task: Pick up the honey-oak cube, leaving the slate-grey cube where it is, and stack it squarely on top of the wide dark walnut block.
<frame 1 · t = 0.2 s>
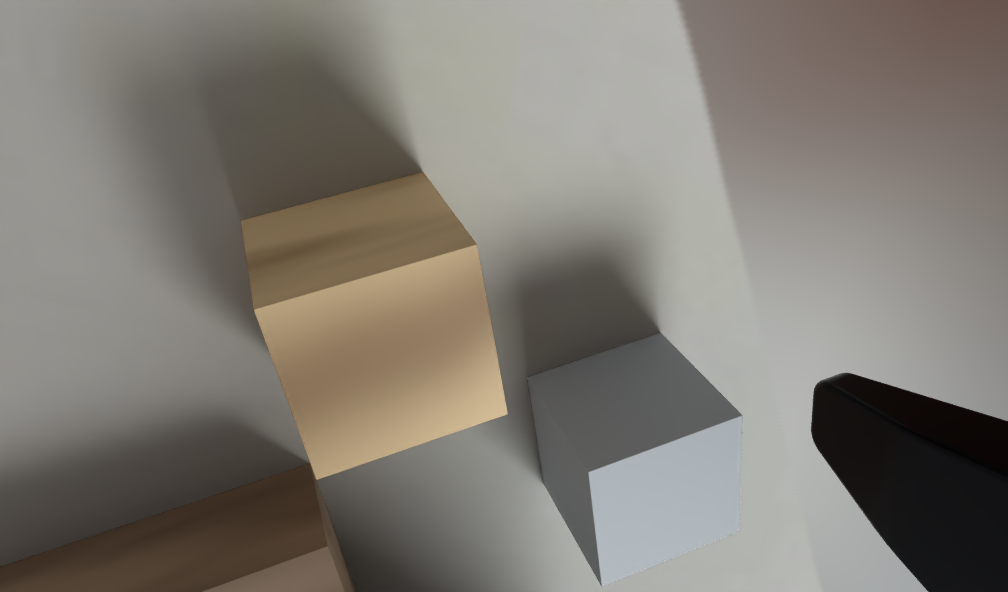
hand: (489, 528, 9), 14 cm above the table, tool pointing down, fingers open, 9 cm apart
oak cube: (355, 273, 23), on the table
grey cube: (599, 409, 28), on the table
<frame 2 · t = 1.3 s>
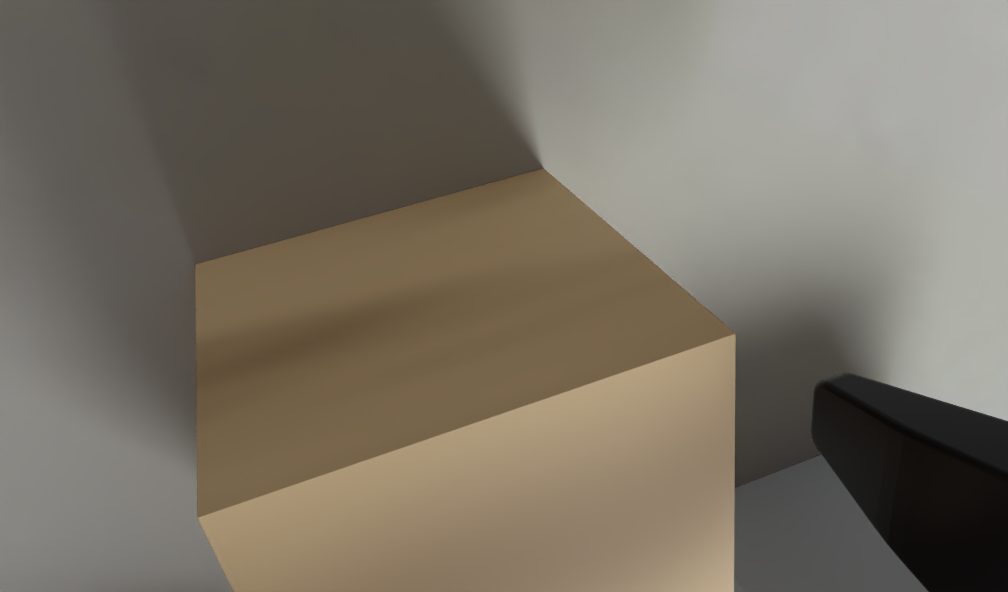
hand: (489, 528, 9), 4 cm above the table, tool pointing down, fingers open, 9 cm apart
oak cube: (413, 356, 12), on the table
grey cube: (780, 546, 18), on the table
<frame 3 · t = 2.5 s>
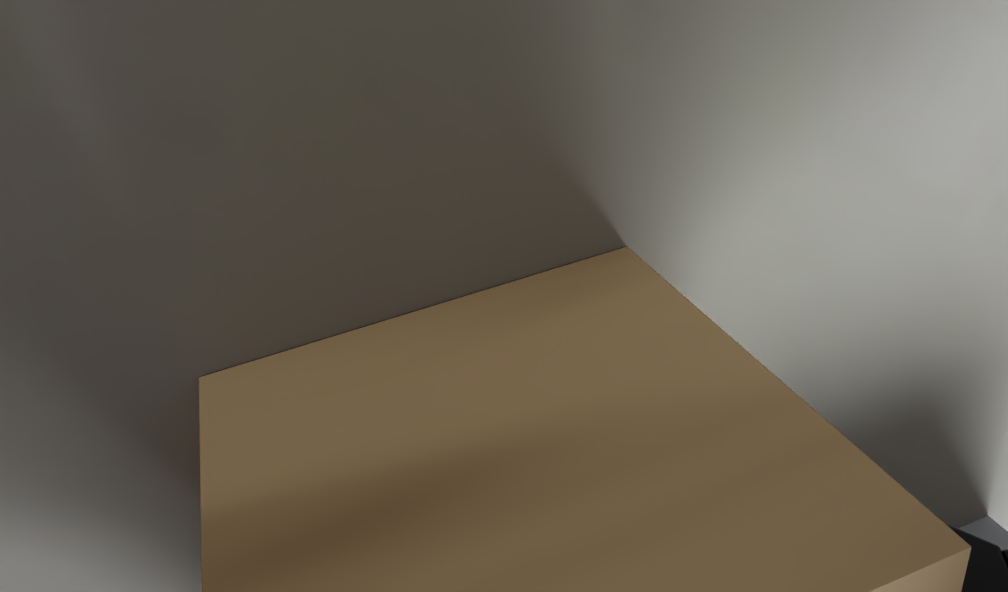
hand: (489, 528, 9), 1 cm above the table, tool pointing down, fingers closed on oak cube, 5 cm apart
oak cube: (463, 471, 10), on the table, touching gripper
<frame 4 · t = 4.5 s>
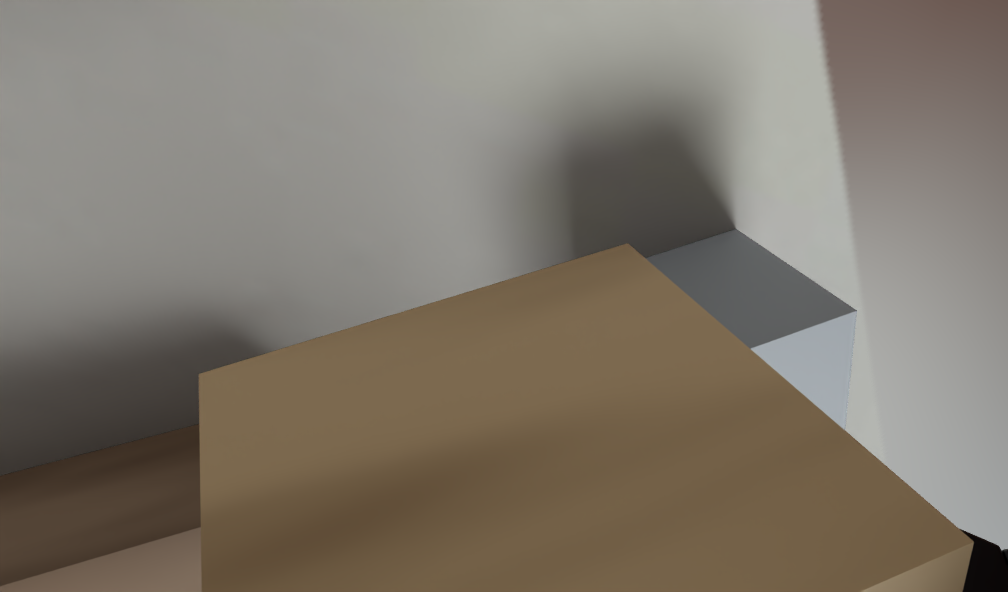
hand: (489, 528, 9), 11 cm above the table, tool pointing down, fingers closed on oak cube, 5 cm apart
oak cube: (464, 468, 10), point 10 cm above the table, touching gripper
grey cube: (660, 326, 23), on the table
walnut block: (179, 574, 22), on the table
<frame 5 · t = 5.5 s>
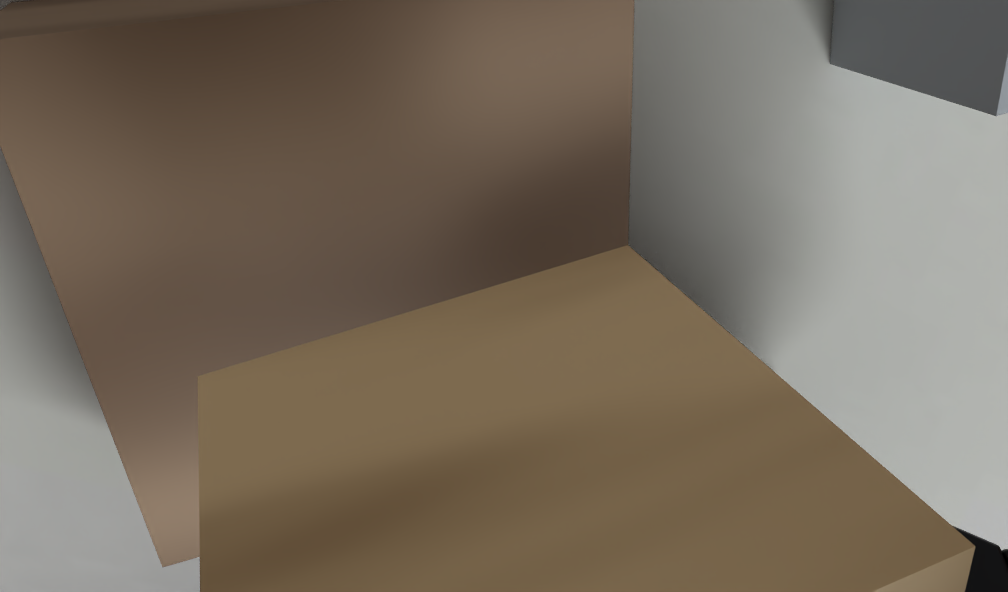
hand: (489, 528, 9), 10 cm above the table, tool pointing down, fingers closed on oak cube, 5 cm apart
oak cube: (463, 471, 10), point 9 cm above the table, touching gripper
walnut block: (342, 210, 18), on the table
when the fingers open (6 cm above the table, at t = 6.4 s): oak cube drops 2 cm, resting on walnut block.
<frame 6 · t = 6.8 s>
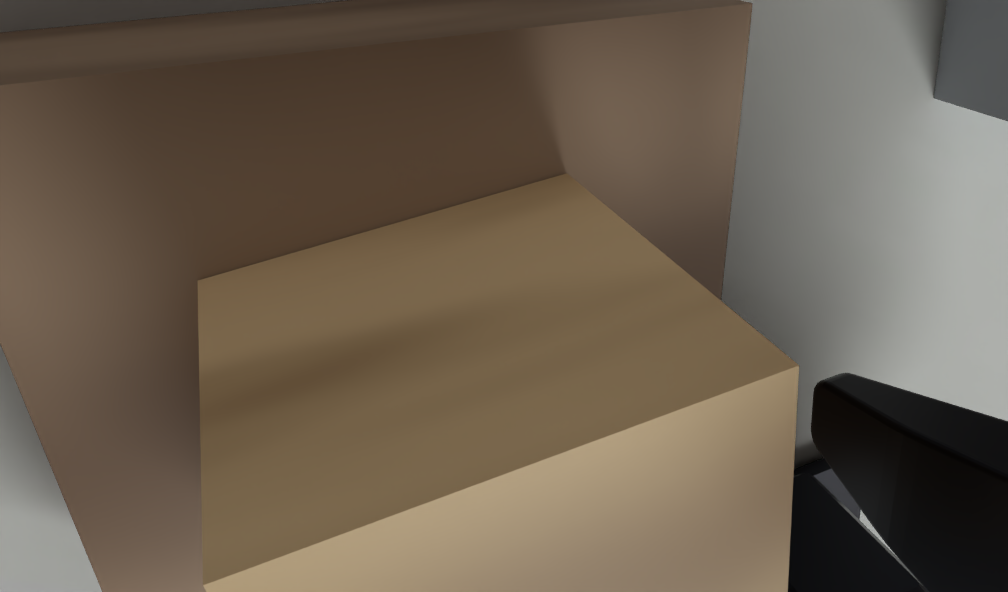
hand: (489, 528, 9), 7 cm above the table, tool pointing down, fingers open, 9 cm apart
oak cube: (430, 375, 12), point 4 cm above the table, touching walnut block
walnut block: (372, 275, 15), on the table, touching oak cube
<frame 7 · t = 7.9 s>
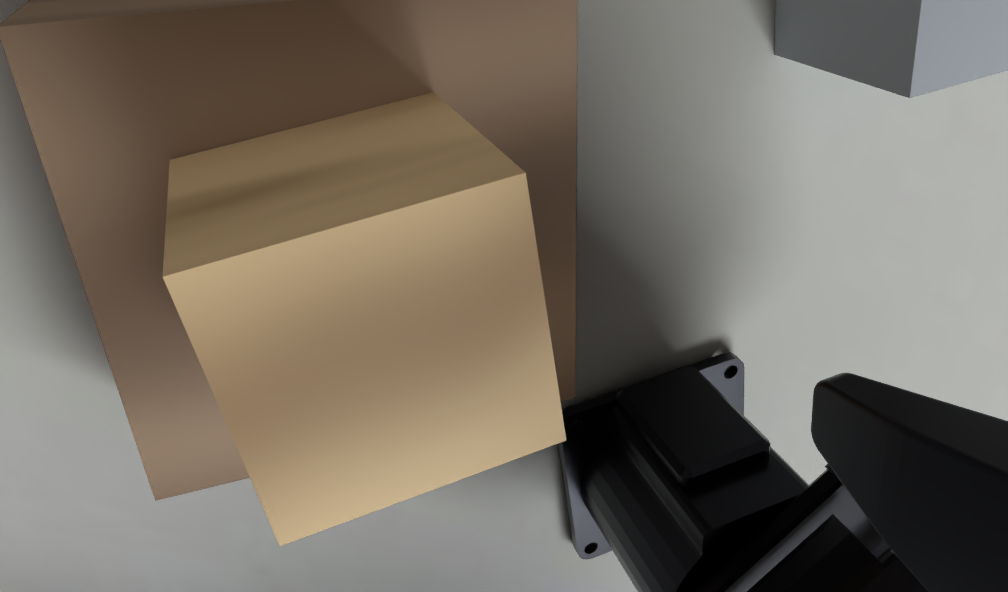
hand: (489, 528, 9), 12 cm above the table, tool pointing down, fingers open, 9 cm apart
oak cube: (341, 242, 16), point 4 cm above the table
walnut block: (325, 190, 20), on the table
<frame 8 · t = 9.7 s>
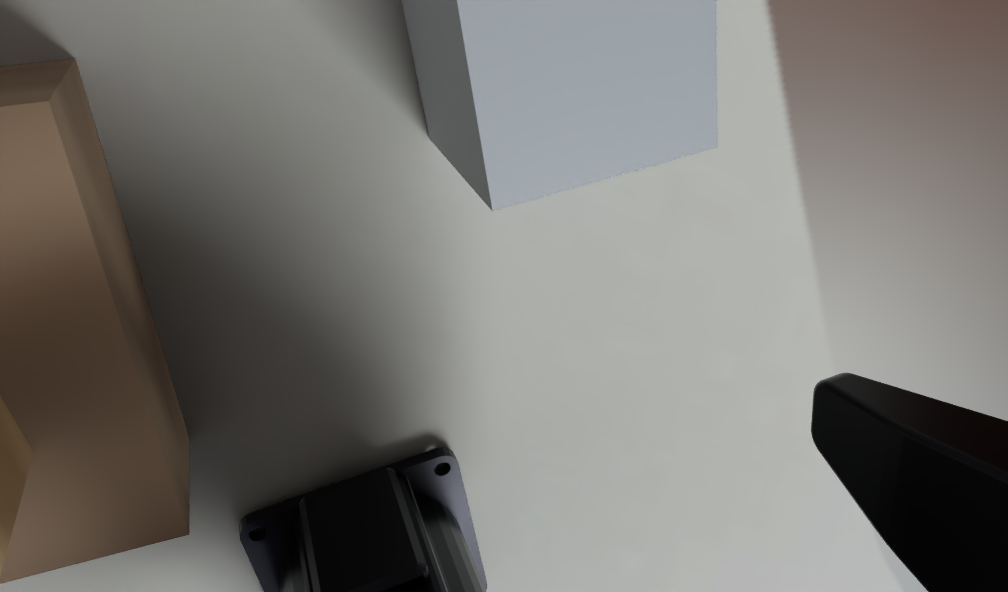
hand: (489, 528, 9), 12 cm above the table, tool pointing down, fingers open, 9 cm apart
grey cube: (508, 12, 19), on the table
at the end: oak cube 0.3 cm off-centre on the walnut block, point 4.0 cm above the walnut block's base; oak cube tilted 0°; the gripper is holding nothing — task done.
